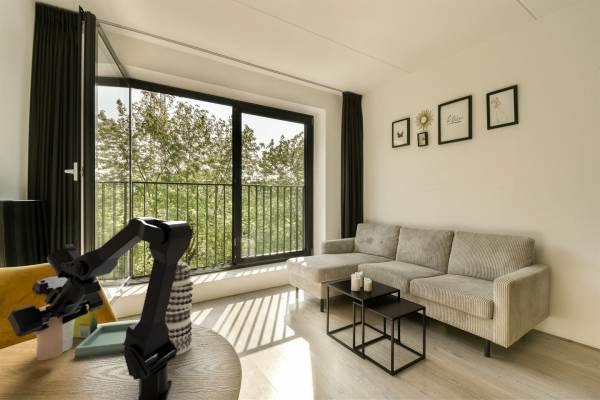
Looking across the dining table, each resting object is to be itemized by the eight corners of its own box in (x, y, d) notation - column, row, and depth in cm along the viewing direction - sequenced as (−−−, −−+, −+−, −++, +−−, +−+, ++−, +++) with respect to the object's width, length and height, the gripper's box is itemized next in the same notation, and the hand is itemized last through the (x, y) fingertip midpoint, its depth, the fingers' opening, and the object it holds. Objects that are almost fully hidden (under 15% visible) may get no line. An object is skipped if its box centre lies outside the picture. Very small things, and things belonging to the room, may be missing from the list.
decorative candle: (178, 358, 75) (178, 267, 75) (151, 353, 77) (151, 266, 78) (199, 342, 84) (199, 261, 84) (174, 338, 86) (174, 259, 86)
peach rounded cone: (55, 358, 70) (55, 309, 70) (31, 361, 69) (31, 311, 69) (66, 348, 75) (66, 303, 75) (45, 351, 73) (45, 304, 74)
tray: (134, 350, 79) (135, 341, 79) (74, 357, 75) (75, 348, 76) (150, 328, 94) (150, 320, 94) (100, 333, 90) (100, 325, 90)
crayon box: (97, 334, 89) (98, 298, 90) (89, 338, 86) (89, 302, 87) (78, 332, 91) (78, 297, 91) (69, 337, 88) (70, 300, 88)
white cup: (53, 358, 75) (54, 322, 76) (31, 355, 77) (32, 320, 77) (81, 344, 83) (82, 311, 83) (61, 341, 85) (61, 309, 85)
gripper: (97, 260, 80) (71, 294, 83) (12, 276, 62) (-15, 318, 65) (116, 289, 77) (89, 323, 80) (33, 315, 59) (3, 357, 63)
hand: (46, 328), depth 72 cm, fingers closed on peach rounded cone, 5 cm apart
